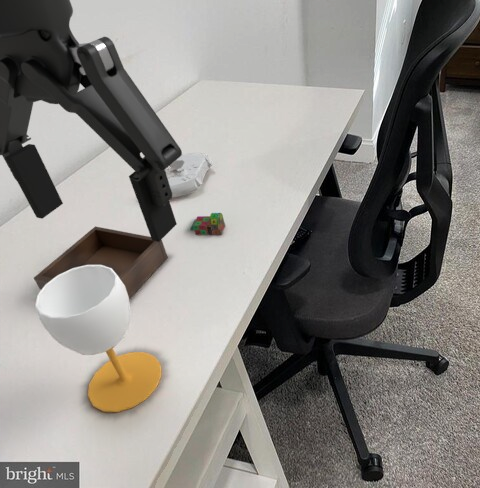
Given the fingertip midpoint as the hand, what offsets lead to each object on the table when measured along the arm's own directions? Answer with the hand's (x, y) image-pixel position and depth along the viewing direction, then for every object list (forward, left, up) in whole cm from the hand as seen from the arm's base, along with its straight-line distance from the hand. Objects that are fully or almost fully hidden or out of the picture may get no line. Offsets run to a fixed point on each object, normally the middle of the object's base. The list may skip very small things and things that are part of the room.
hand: (104, 221), depth 45 cm
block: (+30, +13, -25) cm, 41 cm away
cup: (-2, +6, -25) cm, 26 cm away
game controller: (+43, +26, -25) cm, 56 cm away
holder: (+14, +22, -25) cm, 36 cm away
